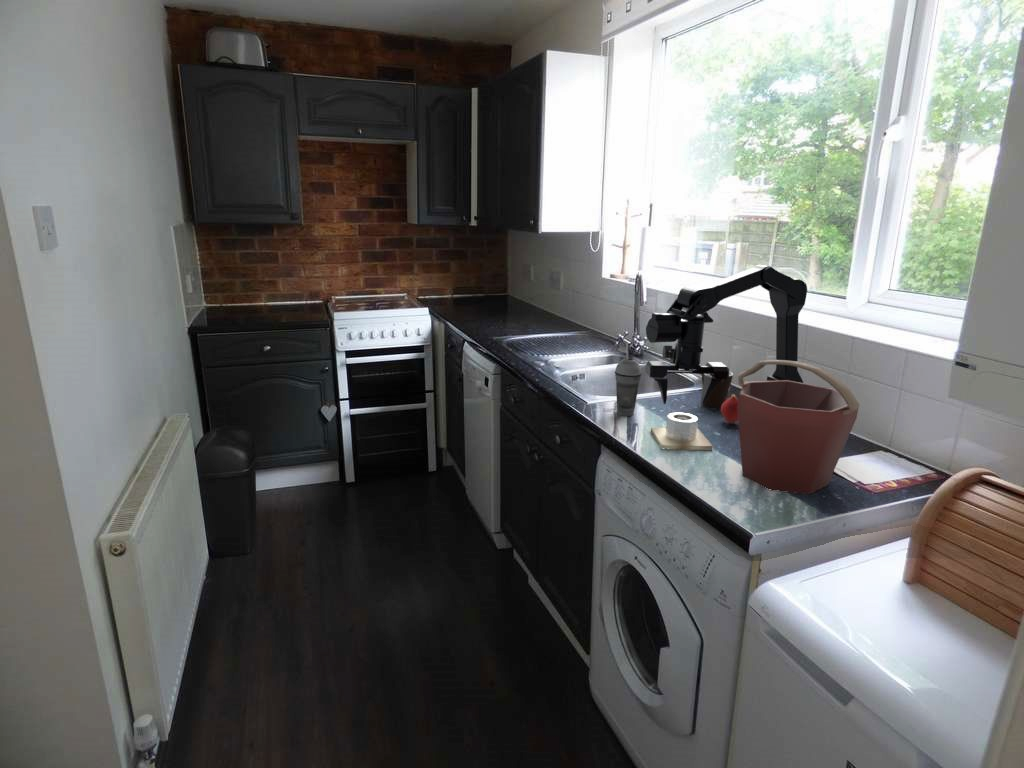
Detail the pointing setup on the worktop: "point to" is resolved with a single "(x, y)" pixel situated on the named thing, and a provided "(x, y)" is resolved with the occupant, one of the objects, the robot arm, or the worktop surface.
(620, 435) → the worktop surface
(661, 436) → the post board
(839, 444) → the bucket
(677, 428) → the steel ring
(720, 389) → the coffee mug
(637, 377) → the beverage cup
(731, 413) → the onion
